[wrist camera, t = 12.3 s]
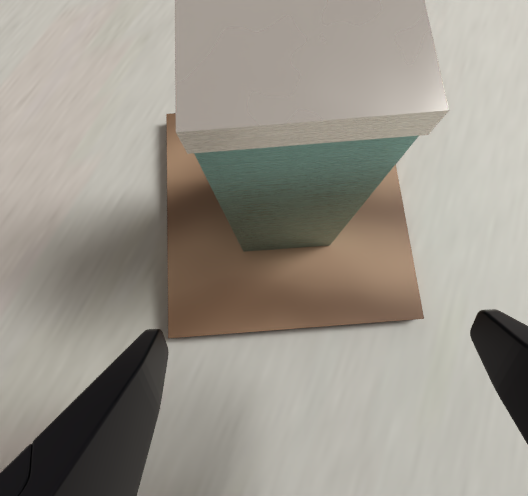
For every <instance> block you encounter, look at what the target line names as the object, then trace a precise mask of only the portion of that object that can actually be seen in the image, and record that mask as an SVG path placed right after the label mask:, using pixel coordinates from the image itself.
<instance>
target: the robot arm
mask: <svg viewBox="0 0 528 496" xmlns="http://www.w3.org/2000/svg"><path fill="white" fill-rule="evenodd" d="M470 336H471V339H472V341H473V343H474V346H475V348H476V350H477V352H478V354H479V356H480V358H481V361H482V363H483V365H484V367H485V369H486V371H487V373H488V375H489V378H490V380H491V382H492V384H493V386H494V388H495V390H496V392H497V393H498V395H499V397H500V399H501V400H502V402H503V404H504V405H505V407H506V409H507V410H508V412H509V414H510V416H511V417H512V419H513V421H514V422H515V424H516V426H517V427H518V429H519V431H520V432H521V434H522V436H523V437H524V439H525V441H526V442H527V444H528V326H527V325H525V324H523V323H521V322H519V321H517V320H516V319H514V318H512V317H510V316H508V315H506V314H504V313H502V312H501V311H498V310H494V309H492V310H481V311H479V312H478V314H477V316H476V318H475V321H474V323H473V325H472V328H471V330H470ZM167 360H168V347H167V344H166V341H165V338H164V335H163V332H162V331H161V330H160V329H149V330H146V331H144V332H143V333H142V334H141V335H140V336H139V337H138V338H137V339H136V340H135V341H134V342H133V343H132V344H131V345H130V346H129V347H128V348H127V349H126V350H125V351H124V352H123V353H122V354H121V355H120V356H119V357H118V358H117V359H116V360H115V361H114V362H113V363H112V364H111V365H110V366H109V367H108V368H107V369H106V370H105V371H104V372H103V373H102V374H101V375H100V376H98V377H97V378H96V379H95V380H94V381H93V382H92V383H91V384H90V385H89V386H88V387H87V388H86V389H85V390H84V391H83V392H82V393H81V394H80V395H79V396H78V397H77V398H76V399H75V400H74V401H73V402H72V403H71V404H70V405H69V406H68V407H67V408H66V409H65V410H64V411H63V412H62V413H61V414H60V415H59V416H58V417H57V418H56V419H55V420H54V421H53V422H52V423H51V424H50V425H49V426H48V427H47V428H46V429H45V430H44V431H43V432H42V433H41V434H40V435H39V436H38V437H37V438H36V439H35V440H34V441H33V443H32V444H30V445H28V446H27V447H26V448H25V449H24V450H23V451H22V452H21V453H20V454H19V455H18V456H17V457H16V458H15V459H14V460H13V461H12V462H11V463H10V464H9V465H8V466H7V467H6V468H5V469H4V470H3V471H2V472H1V473H0V496H137V492H138V488H139V485H140V481H141V477H142V474H143V470H144V466H145V462H146V459H147V455H148V451H149V448H150V444H151V440H152V436H153V433H154V429H155V425H156V421H157V418H158V414H159V409H160V404H161V399H162V392H163V386H164V379H165V373H166V367H167Z"/></svg>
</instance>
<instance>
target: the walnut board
mask: <svg viewBox="0 0 528 496" xmlns="http://www.w3.org/2000/svg"><path fill="white" fill-rule="evenodd" d="M167 236H168V338H178V337H191V336H204V335H217V334H230V333H244V332H257V331H270V330H283V329H296V328H309V327H322V326H335V325H348V324H361V323H374V322H387V321H400V320H413V319H424V316H423V311H422V305H421V300H420V294H419V289H418V284H417V278H416V273H415V267H414V262H413V256H412V251H411V245H410V240H409V235H408V229H407V224H406V218H405V213H404V207H403V202H402V196H401V191H400V186H399V180H398V175H397V169H396V164H395V166H394V167H393V168H392V169H391V171H390V172H389V173H388V174H387V176H386V177H385V178H384V179H383V180H382V182H381V183H380V184H379V185H378V187H377V188H376V189H375V190H374V192H373V193H372V194H371V195H370V196H369V198H368V199H367V200H366V201H365V203H364V204H363V205H362V206H361V208H360V209H359V210H358V211H357V213H356V214H355V215H354V216H353V217H352V219H351V220H350V221H349V222H348V224H347V225H346V226H345V227H344V229H343V230H342V231H341V232H340V233H339V235H338V236H337V237H336V238H335V240H334V241H333V242H332V243H331V245H329V246H316V247H302V248H288V249H275V250H261V251H247V252H243V250H242V248H241V246H240V244H239V242H238V240H237V238H236V236H235V234H234V232H233V230H232V228H231V226H230V224H229V222H228V220H227V218H226V216H225V214H224V212H223V210H222V208H221V206H220V204H219V202H218V200H217V198H216V196H215V194H214V192H213V190H212V188H211V186H210V184H209V182H208V180H207V178H206V176H205V174H204V172H203V170H202V168H201V166H200V164H199V162H198V160H197V158H196V156H195V154H194V153H192V154H187V152H186V150H185V148H184V147H183V145H182V143H181V141H180V139H179V137H178V136H177V134H176V113H174V114H167Z"/></svg>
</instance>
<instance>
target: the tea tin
mask: <svg viewBox="0 0 528 496" xmlns="http://www.w3.org/2000/svg"><path fill="white" fill-rule="evenodd" d="M175 85H176V134H177V136H178V137H179V139H180V141H181V143H182V145H183V147H184V148H185V150H186V152H187V154H192V153H194V154H195V156H196V158H197V160H198V162H199V164H200V166H201V168H202V170H203V172H204V174H205V176H206V178H207V180H208V182H209V184H210V186H211V188H212V190H213V192H214V194H215V196H216V198H217V200H218V202H219V204H220V206H221V208H222V210H223V212H224V214H225V216H226V218H227V220H228V222H229V224H230V226H231V228H232V230H233V232H234V234H235V236H236V238H237V240H238V242H239V244H240V246H241V248H242V250H243V252H247V251H261V250H275V249H288V248H302V247H316V246H329V245H331V243H332V242H333V241H334V240H335V238H336V237H337V236H338V235H339V233H340V232H341V231H342V230H343V229H344V227H345V226H346V225H347V224H348V222H349V221H350V220H351V219H352V217H353V216H354V215H355V214H356V213H357V211H358V210H359V209H360V208H361V206H362V205H363V204H364V203H365V201H366V200H367V199H368V198H369V196H370V195H371V194H372V193H373V192H374V190H375V189H376V188H377V187H378V185H379V184H380V183H381V182H382V180H383V179H384V178H385V177H386V176H387V174H388V173H389V172H390V171H391V169H392V168H393V167H394V166H395V164H396V163H397V162H398V161H399V159H400V158H401V157H402V156H403V155H404V153H405V152H406V151H407V150H408V148H409V147H410V146H411V145H412V143H413V142H414V141H415V140H416V139H417V137H418V136H419V135H428V134H429V133H430V132H431V131H432V130H433V129H434V127H435V126H436V125H437V124H438V123H439V122H440V120H441V119H442V118H443V117H444V116H445V115H446V113H447V112H448V111H449V107H448V103H447V98H446V94H445V90H444V85H443V81H442V76H441V72H440V67H439V63H438V59H437V54H436V50H435V45H434V41H433V36H432V32H431V27H430V23H429V19H428V14H427V10H426V5H425V1H424V0H175Z"/></svg>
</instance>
